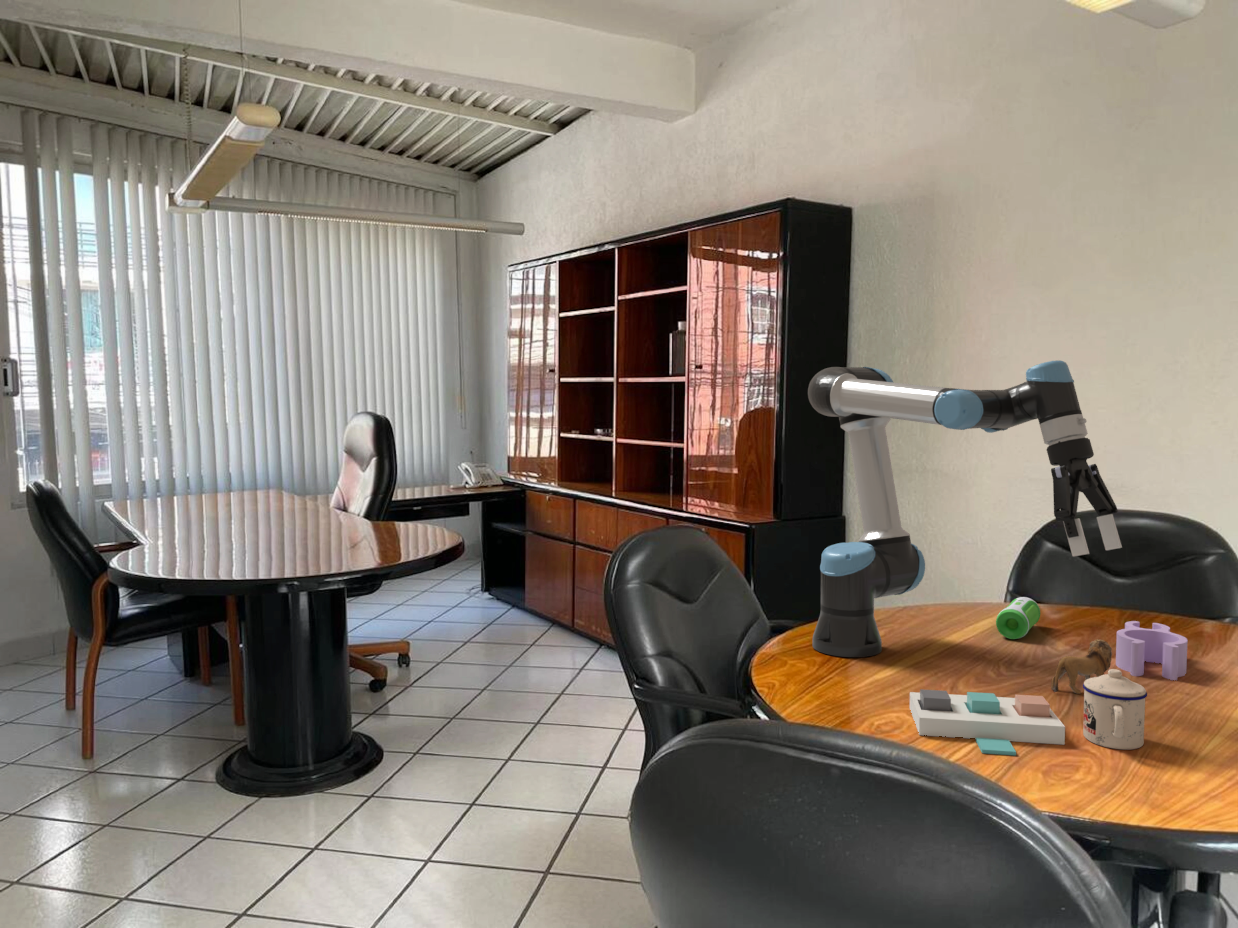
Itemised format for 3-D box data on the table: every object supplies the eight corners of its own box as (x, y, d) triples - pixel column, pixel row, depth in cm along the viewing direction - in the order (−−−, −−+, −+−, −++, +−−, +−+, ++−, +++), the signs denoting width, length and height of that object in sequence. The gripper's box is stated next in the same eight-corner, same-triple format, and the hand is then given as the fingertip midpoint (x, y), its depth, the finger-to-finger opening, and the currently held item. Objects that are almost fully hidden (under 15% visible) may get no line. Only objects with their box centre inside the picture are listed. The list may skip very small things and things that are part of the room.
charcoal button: (919, 706, 153) (920, 689, 153) (946, 708, 152) (946, 690, 152) (923, 715, 148) (923, 697, 148) (950, 717, 148) (950, 699, 147)
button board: (909, 708, 157) (909, 691, 157) (1042, 715, 153) (1042, 699, 153) (919, 734, 145) (919, 717, 144) (1064, 744, 140) (1065, 726, 140)
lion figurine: (1093, 679, 173) (1094, 635, 172) (1118, 687, 168) (1120, 641, 167) (1042, 690, 166) (1043, 644, 166) (1067, 699, 161) (1069, 651, 161)
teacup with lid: (1079, 726, 148) (1081, 659, 147) (1140, 734, 144) (1143, 665, 143) (1085, 752, 137) (1087, 680, 136) (1152, 761, 133) (1155, 687, 132)
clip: (1112, 649, 194) (1113, 618, 193) (1178, 656, 188) (1179, 624, 188) (1118, 674, 176) (1119, 641, 175) (1191, 683, 170) (1192, 648, 170)
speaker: (1009, 623, 217) (1010, 593, 217) (1041, 627, 213) (1042, 597, 212) (993, 638, 203) (994, 607, 202) (1027, 643, 199) (1028, 611, 198)
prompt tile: (975, 740, 142) (975, 737, 142) (1008, 743, 141) (1008, 739, 141) (982, 753, 137) (982, 749, 137) (1016, 755, 136) (1016, 751, 136)
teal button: (966, 709, 151) (967, 691, 151) (993, 711, 150) (994, 693, 150) (971, 718, 147) (972, 700, 147) (999, 720, 146) (999, 701, 146)
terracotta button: (1014, 712, 150) (1015, 694, 149) (1042, 714, 149) (1042, 695, 148) (1021, 721, 145) (1021, 703, 145) (1049, 723, 144) (1049, 704, 144)
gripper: (1054, 435, 153) (1087, 554, 149) (1115, 436, 169) (1147, 543, 165) (1015, 447, 159) (1045, 561, 155) (1077, 446, 175) (1106, 550, 171)
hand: (1097, 552), depth 160 cm, fingers open, 13 cm apart
